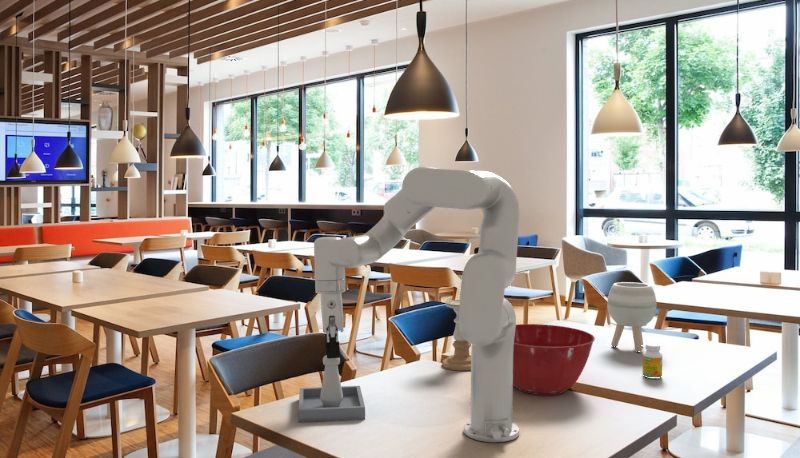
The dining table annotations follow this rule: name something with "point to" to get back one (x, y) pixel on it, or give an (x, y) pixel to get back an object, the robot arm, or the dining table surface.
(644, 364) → the supplement bottle
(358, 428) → the dining table surface
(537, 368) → the mixing bowl
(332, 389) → the salt shaker
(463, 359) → the candle holder
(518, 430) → the robot arm
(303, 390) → the tray
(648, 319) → the planter
